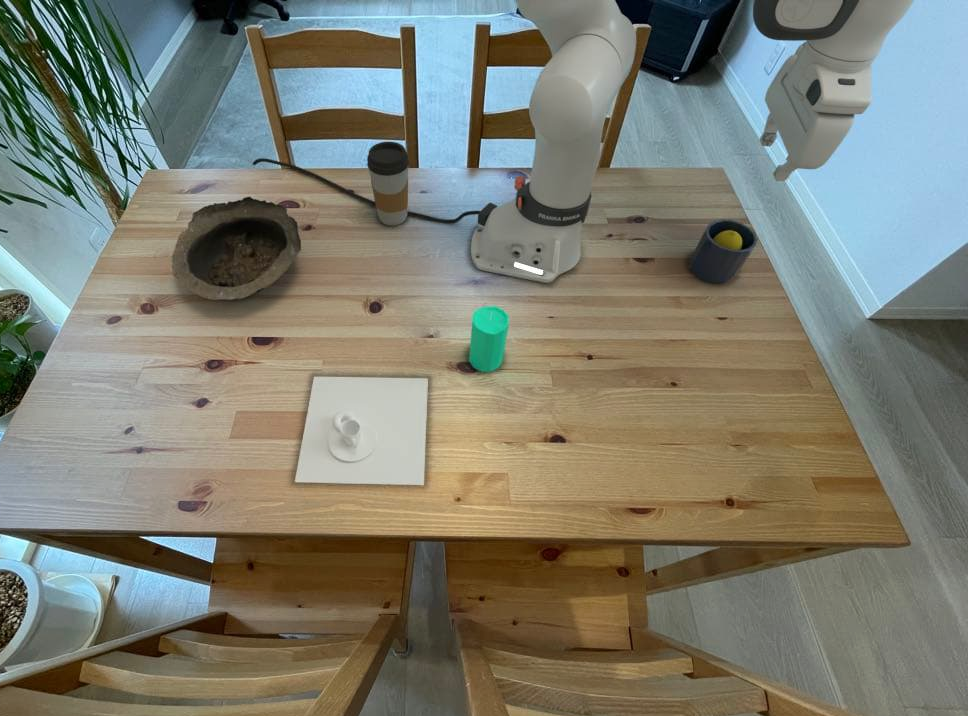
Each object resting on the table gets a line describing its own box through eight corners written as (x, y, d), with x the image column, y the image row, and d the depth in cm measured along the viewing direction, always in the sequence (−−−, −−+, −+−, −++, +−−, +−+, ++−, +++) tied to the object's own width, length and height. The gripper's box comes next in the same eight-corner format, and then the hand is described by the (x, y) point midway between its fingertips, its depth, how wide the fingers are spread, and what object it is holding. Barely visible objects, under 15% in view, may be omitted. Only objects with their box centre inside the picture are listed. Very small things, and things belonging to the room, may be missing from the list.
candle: (464, 366, 90) (467, 321, 80) (474, 341, 93) (479, 294, 83) (497, 376, 89) (504, 331, 79) (506, 350, 92) (514, 303, 82)
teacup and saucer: (332, 414, 85) (328, 401, 82) (380, 415, 85) (377, 402, 82) (325, 462, 81) (320, 450, 77) (375, 463, 80) (372, 451, 77)
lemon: (730, 276, 100) (751, 243, 93) (700, 272, 100) (719, 239, 94) (727, 257, 103) (748, 224, 96) (698, 253, 103) (717, 220, 96)
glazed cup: (692, 282, 100) (711, 250, 93) (685, 250, 105) (702, 218, 98) (740, 285, 99) (762, 253, 93) (730, 253, 104) (751, 220, 97)
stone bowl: (294, 219, 112) (285, 183, 103) (320, 305, 101) (311, 272, 92) (178, 243, 108) (158, 208, 99) (191, 336, 96) (170, 304, 88)
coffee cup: (378, 203, 115) (370, 138, 102) (414, 206, 114) (411, 141, 101) (370, 228, 110) (361, 163, 98) (408, 231, 110) (404, 166, 97)
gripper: (785, 33, 77) (738, 123, 89) (825, 106, 67) (766, 198, 78) (829, 35, 77) (775, 126, 89) (876, 109, 66) (808, 201, 78)
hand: (771, 160), depth 84 cm, fingers open, 8 cm apart
